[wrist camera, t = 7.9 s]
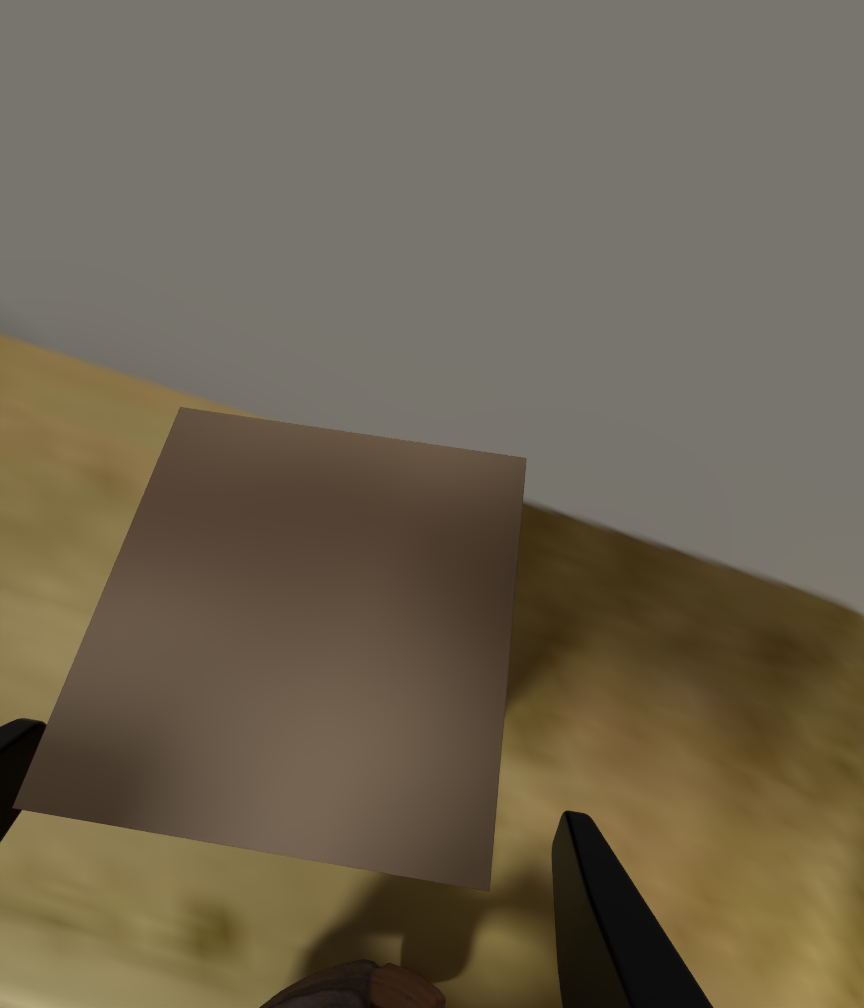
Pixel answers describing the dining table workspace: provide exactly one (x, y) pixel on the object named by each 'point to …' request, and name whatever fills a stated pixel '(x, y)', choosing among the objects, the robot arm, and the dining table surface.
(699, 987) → the robot arm
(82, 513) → the dining table surface
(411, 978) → the brown curved piece
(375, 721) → the walnut block
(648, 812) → the dining table surface
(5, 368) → the dining table surface
